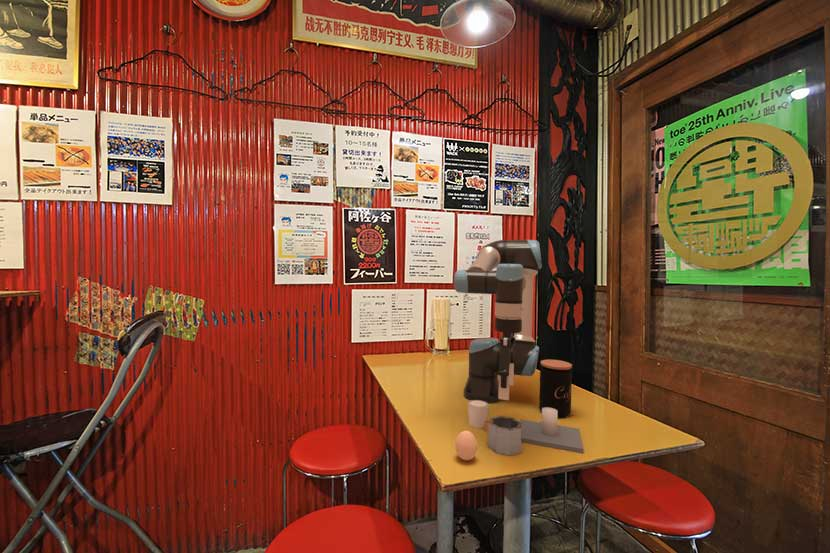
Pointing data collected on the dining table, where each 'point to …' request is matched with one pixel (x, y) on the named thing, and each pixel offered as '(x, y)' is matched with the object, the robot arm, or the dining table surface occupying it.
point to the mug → (504, 435)
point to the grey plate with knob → (551, 433)
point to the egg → (466, 445)
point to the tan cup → (477, 413)
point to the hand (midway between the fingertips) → (506, 391)
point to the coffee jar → (556, 386)
